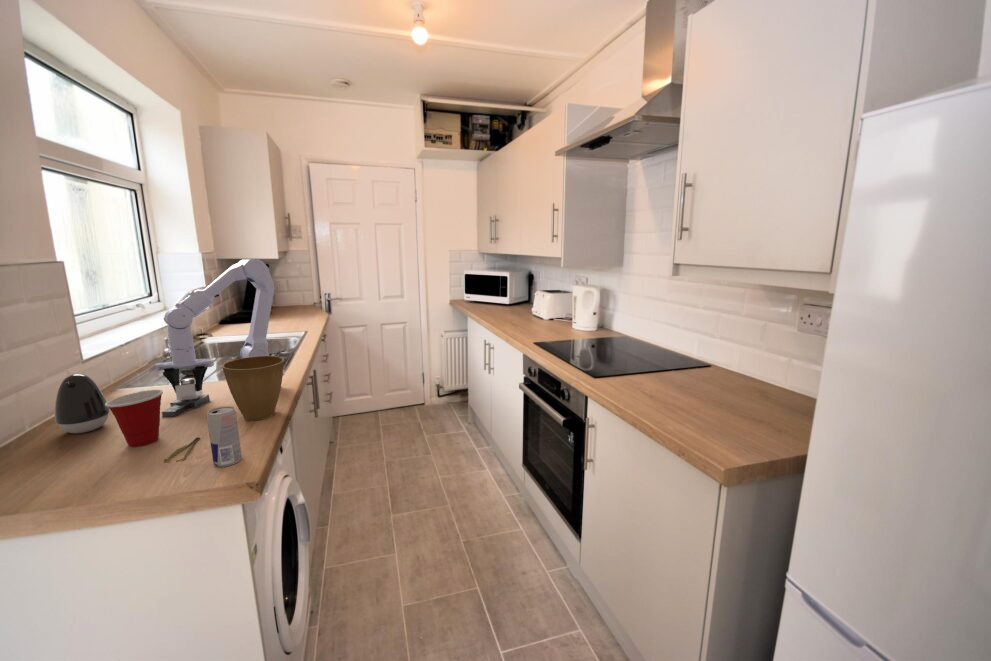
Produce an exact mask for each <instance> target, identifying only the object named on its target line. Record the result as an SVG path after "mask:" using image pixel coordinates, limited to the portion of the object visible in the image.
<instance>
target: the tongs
mask: <svg viewBox="0 0 991 661" xmlns="http://www.w3.org/2000/svg"><path fill="white" fill-rule="evenodd" d="M200 439H201V437H199V436H197V437H195V438H194V439H193V440H192V441H191V442H190V443H188V444H185V445H184V446H183V445H182V446H181V447H178V448H176V450H174V452H172V453H171V454H170V455H169V456H168V457H167V458H164V459H163V461H162V462H163V463H164V464H165V463H167V464H169V463H170V461H171V460H172V458H175V456H176V455H178V454H180V453H181V452H183V451H185V450H186V452H184V454H183V457H181V458H180V459H177V460H175V462H176V463H179V462H183V461H185V459H187V456H188V455H189V454H190V452H191V450H192V449H193V448H194V446H195V445H196V443H197V442H199V440H200Z"/></svg>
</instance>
